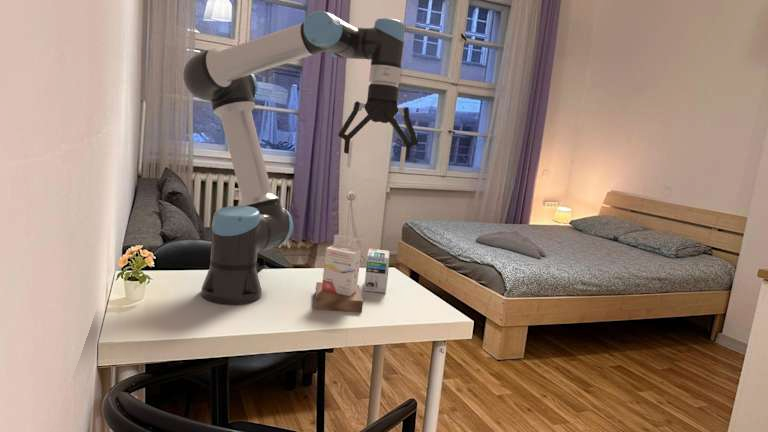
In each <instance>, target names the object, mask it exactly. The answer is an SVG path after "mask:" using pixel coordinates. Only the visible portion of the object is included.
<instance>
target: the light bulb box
mask: <svg viewBox="0 0 768 432" xmlns="http://www.w3.org/2000/svg"><path fill="white" fill-rule="evenodd" d="M390 253H391V252H390V250H386V249H385V250H383V249H378V248H377V249H376V248H368V251H367V256H366V266H365V278H364V285H363V287H364V288H363V291H364V292H372V293H383V294H386V293H387V285H388V279H389V278H388V276H389V266H390Z"/></svg>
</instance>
